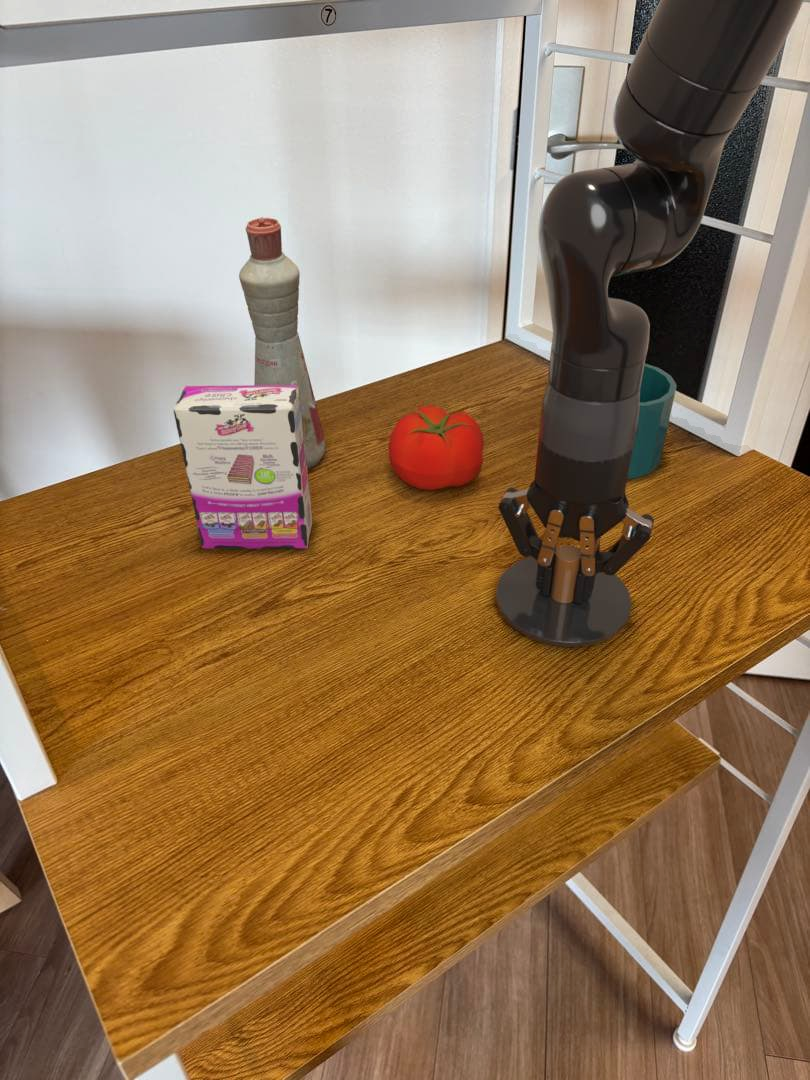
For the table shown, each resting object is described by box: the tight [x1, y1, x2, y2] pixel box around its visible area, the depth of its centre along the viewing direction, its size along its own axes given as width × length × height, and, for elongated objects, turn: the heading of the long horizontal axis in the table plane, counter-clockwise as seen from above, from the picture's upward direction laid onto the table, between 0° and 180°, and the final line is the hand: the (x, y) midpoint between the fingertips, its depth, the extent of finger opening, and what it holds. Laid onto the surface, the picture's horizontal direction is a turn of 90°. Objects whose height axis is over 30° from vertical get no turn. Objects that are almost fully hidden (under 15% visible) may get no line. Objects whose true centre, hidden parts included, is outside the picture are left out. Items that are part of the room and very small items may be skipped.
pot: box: [627, 362, 678, 480], centre depth 96 cm, size 11×17×10 cm
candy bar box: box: [173, 384, 314, 550], centre depth 82 cm, size 11×5×16 cm, turn 89°
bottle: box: [238, 216, 326, 470], centre depth 90 cm, size 9×9×28 cm
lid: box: [495, 544, 632, 648], centre depth 76 cm, size 12×12×6 cm
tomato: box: [387, 405, 485, 491], centre depth 93 cm, size 11×11×8 cm
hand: (563, 594), depth 77 cm, fingers closed on lid, 2 cm apart
